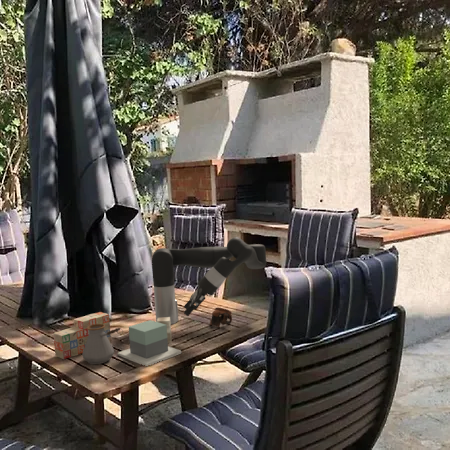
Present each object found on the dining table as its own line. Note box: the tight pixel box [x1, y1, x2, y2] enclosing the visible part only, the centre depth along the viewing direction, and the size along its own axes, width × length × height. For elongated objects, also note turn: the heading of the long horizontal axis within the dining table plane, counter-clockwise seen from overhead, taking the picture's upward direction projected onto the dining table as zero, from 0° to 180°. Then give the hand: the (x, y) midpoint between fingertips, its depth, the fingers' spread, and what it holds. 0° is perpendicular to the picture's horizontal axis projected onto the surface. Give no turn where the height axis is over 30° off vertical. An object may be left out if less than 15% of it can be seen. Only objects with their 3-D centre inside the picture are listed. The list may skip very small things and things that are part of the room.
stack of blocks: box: [53, 311, 112, 360], centre depth 201 cm, size 21×6×12 cm, turn 138°
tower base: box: [117, 319, 182, 367], centre depth 192 cm, size 16×18×11 cm
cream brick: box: [157, 317, 172, 344], centre depth 206 cm, size 5×5×9 cm
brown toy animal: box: [209, 307, 233, 328], centre depth 224 cm, size 12×10×8 cm
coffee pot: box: [81, 324, 124, 365], centre depth 185 cm, size 21×12×15 cm, turn 46°
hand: (185, 311), depth 205 cm, fingers open, 8 cm apart
